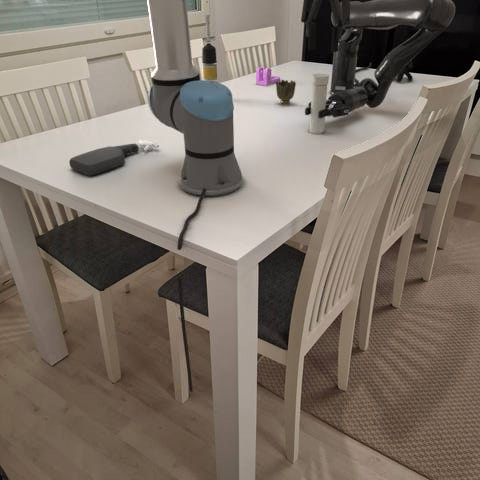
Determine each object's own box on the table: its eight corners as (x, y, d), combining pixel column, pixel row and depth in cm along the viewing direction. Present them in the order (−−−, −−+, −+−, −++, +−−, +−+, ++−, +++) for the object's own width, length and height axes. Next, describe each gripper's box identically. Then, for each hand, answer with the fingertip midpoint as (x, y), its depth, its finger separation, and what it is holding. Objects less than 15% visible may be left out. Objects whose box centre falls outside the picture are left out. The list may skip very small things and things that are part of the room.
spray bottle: (67, 168, 120) (139, 144, 136) (91, 178, 114) (163, 151, 130) (65, 157, 118) (137, 134, 134) (89, 167, 112) (162, 142, 128)
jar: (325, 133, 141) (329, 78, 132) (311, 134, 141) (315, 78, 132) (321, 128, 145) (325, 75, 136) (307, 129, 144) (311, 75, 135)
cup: (272, 105, 169) (272, 83, 165) (279, 100, 174) (280, 79, 170) (290, 107, 166) (291, 85, 162) (297, 102, 171) (298, 80, 167)
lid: (330, 84, 133) (330, 76, 132) (314, 85, 132) (314, 77, 131) (325, 81, 137) (326, 73, 136) (310, 81, 137) (310, 74, 135)
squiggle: (400, 92, 202) (376, 71, 205) (417, 76, 202) (392, 56, 205) (405, 81, 191) (380, 59, 194) (423, 64, 191) (397, 42, 194)
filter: (220, 99, 177) (217, 15, 161) (206, 100, 176) (202, 16, 160) (215, 96, 182) (212, 14, 166) (202, 97, 180) (197, 14, 164)
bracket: (266, 85, 195) (266, 69, 192) (256, 84, 198) (256, 67, 195) (282, 80, 204) (282, 64, 200) (272, 78, 207) (272, 62, 203)
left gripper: (290, -42, 121) (287, 49, 133) (357, -44, 110) (347, 56, 122) (305, -42, 126) (300, 46, 138) (370, -44, 115) (359, 52, 127)
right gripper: (327, 87, 150) (295, 97, 140) (364, 94, 141) (332, 105, 131) (325, 109, 154) (293, 120, 144) (361, 117, 145) (330, 130, 135)
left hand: (322, 50), depth 130 cm, fingers open, 7 cm apart
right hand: (312, 113), depth 138 cm, fingers closed on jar, 4 cm apart
